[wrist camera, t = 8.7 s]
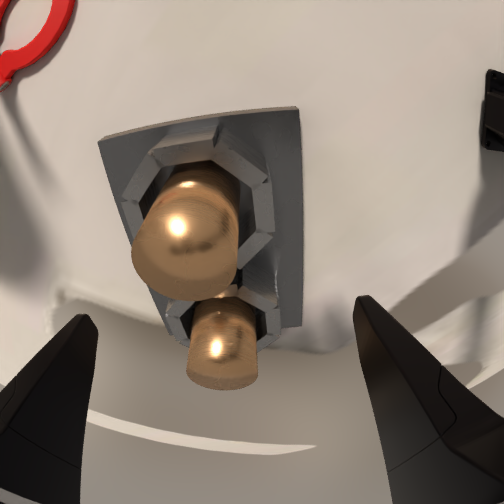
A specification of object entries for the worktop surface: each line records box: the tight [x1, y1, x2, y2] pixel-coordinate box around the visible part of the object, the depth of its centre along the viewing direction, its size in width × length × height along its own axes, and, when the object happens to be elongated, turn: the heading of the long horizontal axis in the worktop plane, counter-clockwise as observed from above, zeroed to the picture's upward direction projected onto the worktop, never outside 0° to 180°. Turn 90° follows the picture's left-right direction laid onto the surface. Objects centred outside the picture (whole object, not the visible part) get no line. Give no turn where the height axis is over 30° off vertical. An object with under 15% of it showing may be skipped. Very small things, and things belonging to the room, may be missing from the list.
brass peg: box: [131, 159, 241, 301], centre depth 15 cm, size 4×4×7 cm
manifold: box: [98, 106, 303, 390], centre depth 18 cm, size 18×12×8 cm, turn 6°
